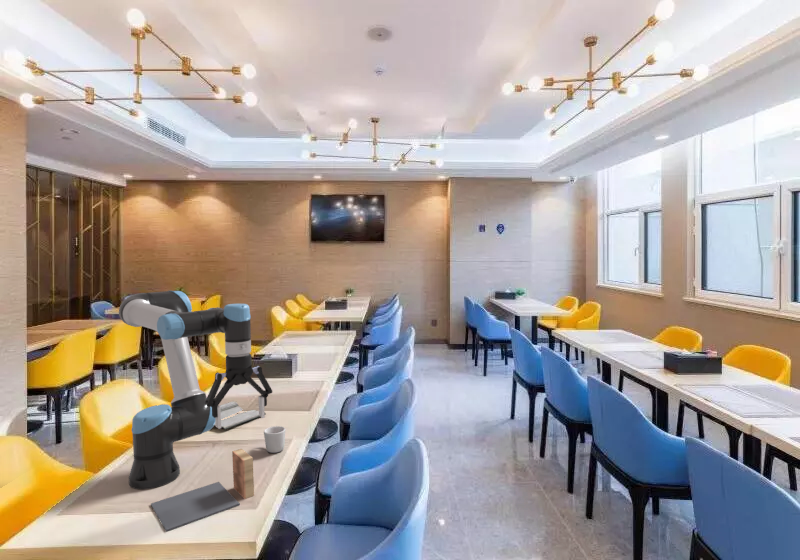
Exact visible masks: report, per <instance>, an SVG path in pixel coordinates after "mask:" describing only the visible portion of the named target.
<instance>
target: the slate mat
mask: <svg viewBox="0 0 800 560" xmlns="http://www.w3.org/2000/svg"><path fill="white" fill-rule="evenodd" d="M240 504H241V503H239V501H238V500H237V499H236V498H235V497H234V496H233V495H232V493H230V492H229V491H228V490H227V489H226V488H225V486H224V485H222V484H221V482H220V481H217V482H213V483H211V484H207V485H204V486H201V487H198V488H194V489H191V490H187V491H186V492H181V493H179V494H175V495H173V496H170V497H167V498H163V499H159V500H158V501H154V502H152V503H150V506H151V508H152V509H154V510H153V511H154V513H155V515H156V514H157V515H156V517H157V518H158V519H159V522H160V521H161V522H160V523H161V526H162V527H163V528H164V530H165V532H166V533H167V532H170V531H172V530H174V529H177V528H180V527H181V528H182V527H184V526H186V525H188V524H192V523H194V522H197V521H200V520H203V519H206V518H208V517H211V516H214V515H216V514H219V513H222V512H225V511H227V510H230V509H233V508H236V507H239V506H240Z"/></svg>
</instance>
